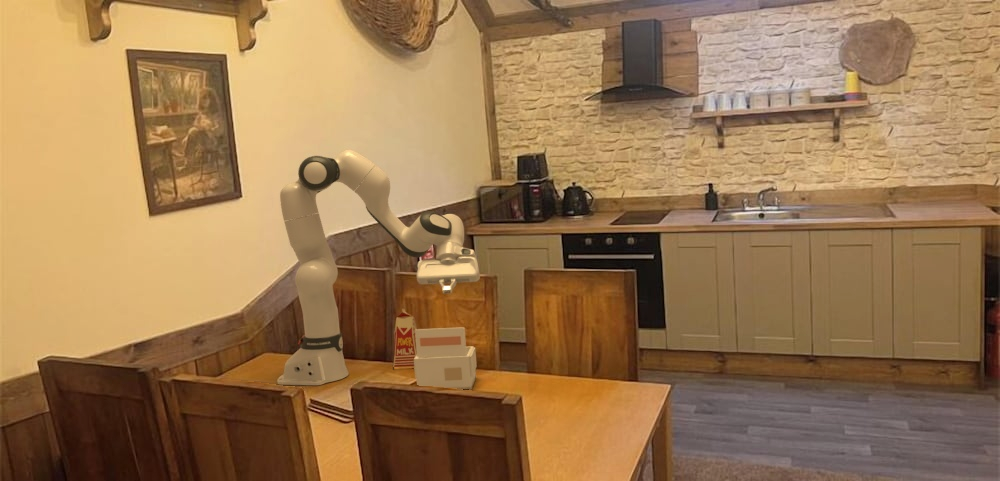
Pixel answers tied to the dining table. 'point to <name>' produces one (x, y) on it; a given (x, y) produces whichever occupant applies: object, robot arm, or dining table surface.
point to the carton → (447, 370)
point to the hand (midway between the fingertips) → (447, 292)
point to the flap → (440, 342)
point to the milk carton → (404, 340)
